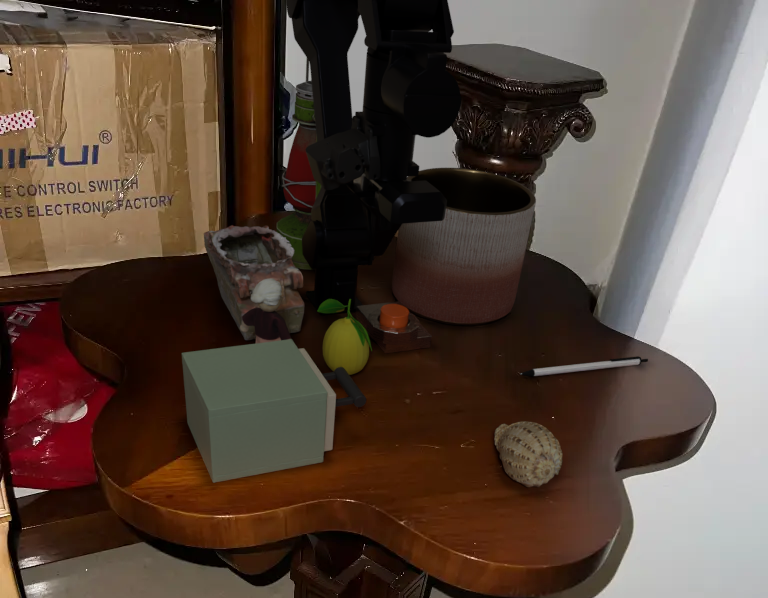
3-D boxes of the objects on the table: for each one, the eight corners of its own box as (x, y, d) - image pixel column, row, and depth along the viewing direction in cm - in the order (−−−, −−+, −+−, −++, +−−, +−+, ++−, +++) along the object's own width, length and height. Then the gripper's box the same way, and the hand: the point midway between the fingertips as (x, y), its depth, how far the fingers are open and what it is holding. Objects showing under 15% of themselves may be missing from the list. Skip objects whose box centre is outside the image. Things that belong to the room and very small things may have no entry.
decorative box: (199, 350, 94) (194, 275, 88) (183, 278, 108) (177, 209, 102) (305, 344, 98) (308, 271, 92) (276, 275, 112) (276, 208, 106)
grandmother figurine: (304, 384, 91) (308, 282, 83) (288, 399, 88) (290, 295, 80) (248, 365, 93) (246, 264, 85) (230, 379, 90) (226, 276, 82)
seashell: (471, 479, 85) (534, 497, 77) (465, 426, 83) (529, 439, 75) (523, 460, 88) (589, 476, 80) (519, 409, 86) (586, 420, 78)
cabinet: (290, 407, 87) (291, 338, 81) (323, 462, 80) (327, 391, 74) (187, 423, 83) (181, 352, 77) (212, 483, 76) (208, 410, 70)
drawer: (337, 396, 88) (340, 343, 84) (369, 443, 82) (375, 388, 77) (209, 416, 83) (206, 360, 78) (233, 468, 76) (231, 410, 72)
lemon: (314, 361, 95) (318, 285, 88) (361, 361, 96) (368, 285, 90) (321, 391, 90) (326, 312, 84) (371, 390, 91) (379, 312, 85)
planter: (434, 340, 102) (452, 221, 92) (368, 283, 113) (378, 171, 103) (537, 318, 110) (565, 207, 100) (466, 267, 121) (484, 162, 110)
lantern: (353, 273, 115) (370, 42, 95) (283, 275, 112) (285, 38, 93) (331, 236, 125) (343, 20, 105) (266, 237, 122) (265, 15, 102)
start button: (375, 317, 99) (376, 305, 97) (400, 314, 100) (401, 302, 99) (386, 331, 96) (387, 318, 95) (412, 327, 97) (413, 315, 96)
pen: (647, 364, 102) (650, 357, 102) (521, 378, 96) (523, 371, 96) (644, 361, 103) (646, 353, 102) (518, 375, 97) (520, 367, 96)
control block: (344, 318, 104) (346, 294, 102) (398, 312, 107) (401, 288, 105) (378, 360, 97) (380, 335, 94) (434, 352, 100) (438, 327, 97)
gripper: (286, 83, 82) (284, 228, 92) (352, 137, 70) (341, 298, 80) (381, 83, 86) (369, 222, 96) (459, 134, 74) (436, 287, 84)
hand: (376, 254), depth 89 cm, fingers closed
